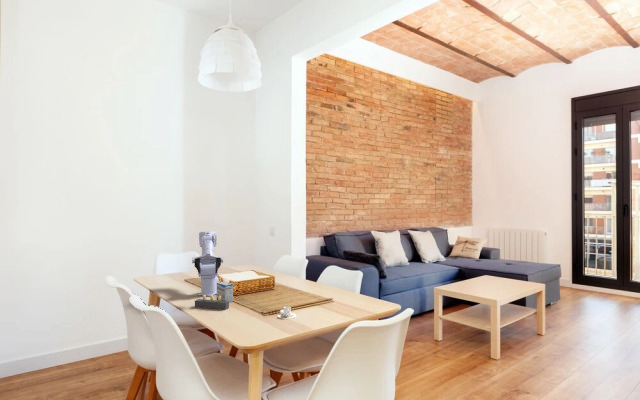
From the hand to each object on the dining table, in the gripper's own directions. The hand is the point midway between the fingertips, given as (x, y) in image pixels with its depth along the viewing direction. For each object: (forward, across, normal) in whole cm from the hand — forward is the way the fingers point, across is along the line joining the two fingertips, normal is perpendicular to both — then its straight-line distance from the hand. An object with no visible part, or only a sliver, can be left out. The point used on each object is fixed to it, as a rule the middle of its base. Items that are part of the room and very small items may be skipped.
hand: (207, 272), depth 181 cm
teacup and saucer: (+31, +35, -2) cm, 46 cm away
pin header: (+13, +2, +10) cm, 16 cm away
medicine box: (+5, +9, +15) cm, 18 cm away
